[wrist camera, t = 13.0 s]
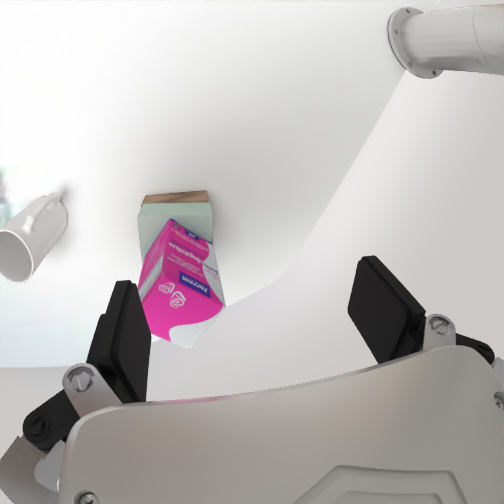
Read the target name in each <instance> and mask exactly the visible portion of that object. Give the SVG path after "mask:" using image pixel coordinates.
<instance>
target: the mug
mask: <svg viewBox="0 0 504 504" xmlns="http://www.w3.org/2000/svg"><path fill="white" fill-rule="evenodd" d="M60 199H61V196H60V195H59V194H57V193H51V194H50V195H48V196H43V197H41V198H39V199H38V200H36V201H35V202H33V203H32V204H31V205H29V206H28V207H27V208H25V209H24V210H23V211H21V212H20V213H19V214H17V215H16V216H15V217H14V218H12V219H11V220H10V221H8V222H7V223H6V224H5V225H3V226H2V227H1V228H0V275H1V276H2V277H3V278H4V279H6V280H7V281H9V282H11V283H15V284H22V283H25V282H27V281H28V280H29V279H30V278H31V276H32V275H33V273H34V272H35V271H36V269H37V268H38V266H39V265H40V263H41V262H42V260H43V259H44V257H45V256H46V255H47V253H48V252H49V250H50V249H51V248H52V246H53V245H54V244H55V242H56V241H57V240H58V238H59V237H60V236H61V234H62V233H63V231H64V230H65V228H66V226H67V212H66V209H65V207H64V205H63V204H62V203H61V202H60Z"/></svg>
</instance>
